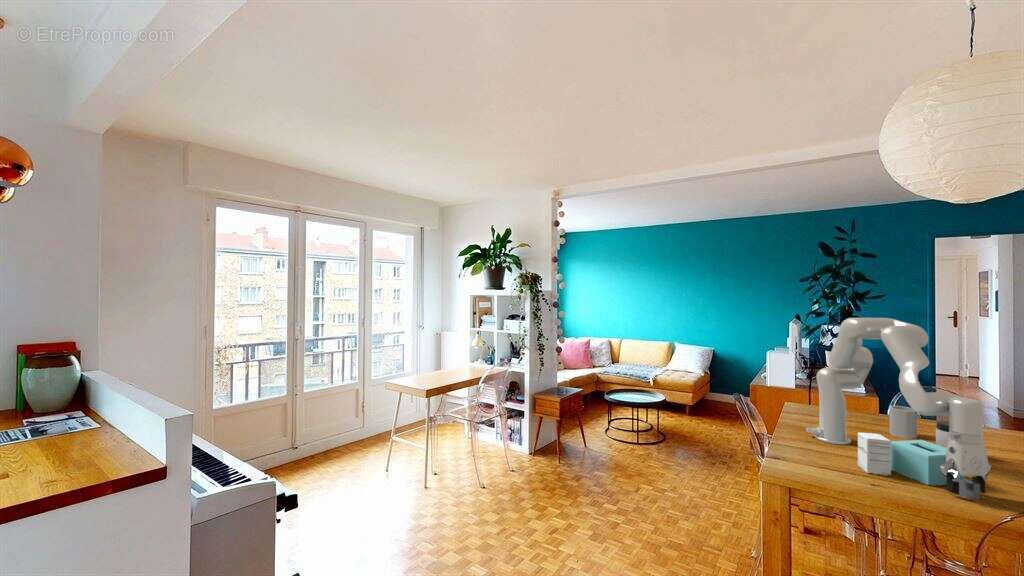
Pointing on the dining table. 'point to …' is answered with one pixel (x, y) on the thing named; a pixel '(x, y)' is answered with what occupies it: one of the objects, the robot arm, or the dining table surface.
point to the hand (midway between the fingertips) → (965, 491)
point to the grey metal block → (969, 489)
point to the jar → (942, 433)
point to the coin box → (919, 461)
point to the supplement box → (874, 453)
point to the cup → (903, 422)
